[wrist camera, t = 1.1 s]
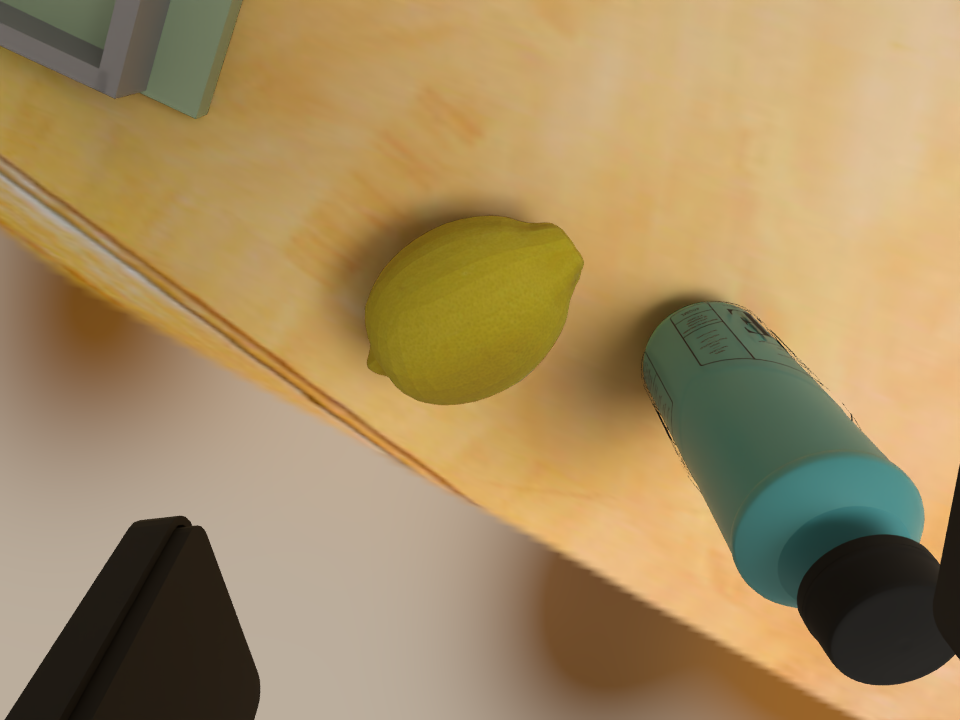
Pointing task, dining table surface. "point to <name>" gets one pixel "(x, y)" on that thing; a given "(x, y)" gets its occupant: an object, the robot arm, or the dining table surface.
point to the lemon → (470, 307)
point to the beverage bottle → (799, 492)
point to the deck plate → (127, 44)
